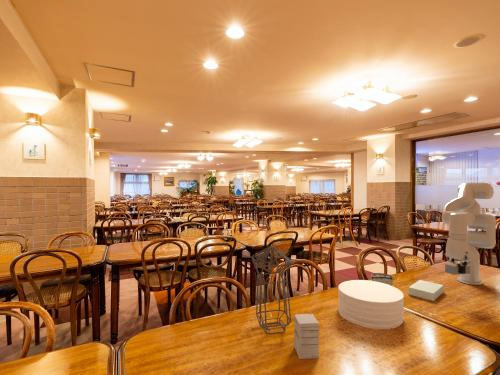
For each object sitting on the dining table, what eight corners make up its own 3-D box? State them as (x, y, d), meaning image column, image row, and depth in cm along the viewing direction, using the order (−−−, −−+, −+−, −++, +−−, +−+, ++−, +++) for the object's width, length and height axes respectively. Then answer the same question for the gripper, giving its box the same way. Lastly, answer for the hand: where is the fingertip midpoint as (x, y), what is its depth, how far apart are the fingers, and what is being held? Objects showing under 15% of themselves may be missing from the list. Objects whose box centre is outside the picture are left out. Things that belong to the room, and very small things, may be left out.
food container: (389, 290, 165) (389, 273, 164) (393, 294, 158) (394, 276, 158) (367, 289, 166) (367, 272, 166) (370, 293, 160) (370, 275, 159)
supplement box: (293, 347, 108) (293, 313, 107) (313, 346, 108) (313, 313, 108) (298, 359, 100) (298, 323, 100) (319, 358, 101) (319, 322, 101)
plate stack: (411, 313, 136) (411, 289, 136) (391, 337, 115) (391, 308, 115) (353, 297, 155) (353, 276, 155) (327, 314, 135) (327, 290, 134)
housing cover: (447, 264, 151) (447, 261, 151) (461, 263, 153) (461, 261, 153) (453, 266, 147) (453, 263, 147) (468, 265, 149) (468, 263, 149)
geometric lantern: (296, 336, 115) (295, 249, 114) (258, 341, 113) (256, 252, 111) (285, 317, 131) (284, 241, 129) (251, 321, 128) (249, 243, 127)
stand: (419, 286, 171) (419, 279, 171) (443, 292, 162) (443, 285, 162) (408, 294, 159) (408, 287, 159) (433, 301, 150) (433, 293, 150)
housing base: (445, 271, 152) (445, 264, 152) (461, 270, 154) (461, 263, 154) (453, 274, 147) (453, 267, 147) (470, 273, 149) (470, 266, 149)
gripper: (438, 234, 158) (437, 267, 158) (466, 240, 141) (466, 277, 141) (450, 233, 159) (449, 266, 159) (479, 239, 142) (479, 276, 143)
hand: (457, 271), depth 150 cm, fingers closed on housing base, 5 cm apart
